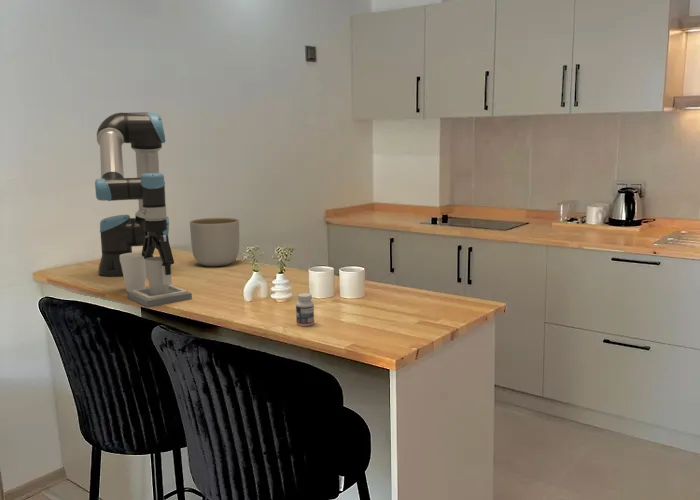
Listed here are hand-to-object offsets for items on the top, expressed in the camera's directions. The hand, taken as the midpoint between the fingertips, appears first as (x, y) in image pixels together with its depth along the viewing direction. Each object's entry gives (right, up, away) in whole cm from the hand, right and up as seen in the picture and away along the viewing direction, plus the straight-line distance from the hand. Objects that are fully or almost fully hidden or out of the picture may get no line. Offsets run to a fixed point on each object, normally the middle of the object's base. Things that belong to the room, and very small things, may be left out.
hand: (158, 280), depth 223 cm
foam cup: (-12, -4, +14) cm, 19 cm away
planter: (+7, +4, +61) cm, 61 cm away
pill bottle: (+52, -12, -30) cm, 61 cm away
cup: (0, -4, +1) cm, 4 cm away
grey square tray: (0, -6, +1) cm, 6 cm away
